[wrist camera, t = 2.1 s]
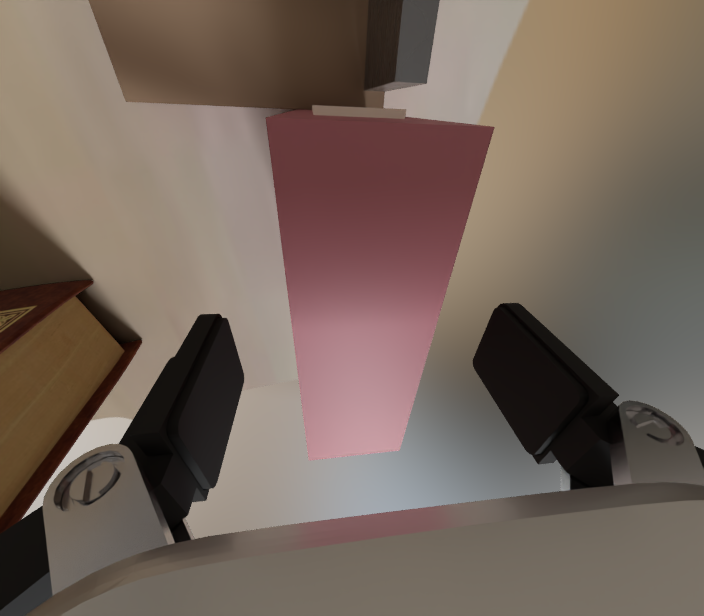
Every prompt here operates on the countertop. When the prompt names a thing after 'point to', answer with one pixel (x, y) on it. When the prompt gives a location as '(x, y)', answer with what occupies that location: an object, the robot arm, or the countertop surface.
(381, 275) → the slim book
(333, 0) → the shelf board
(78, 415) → the decorative book
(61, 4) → the countertop surface
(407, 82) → the bookend
